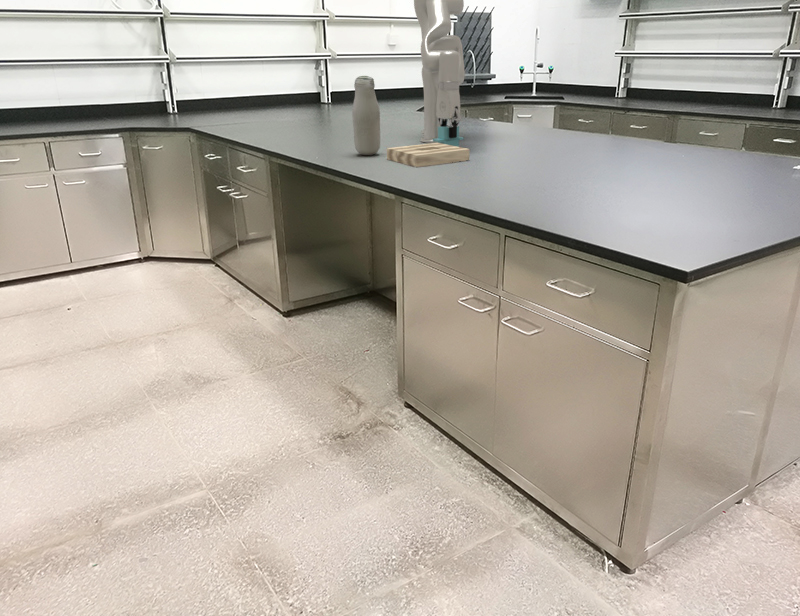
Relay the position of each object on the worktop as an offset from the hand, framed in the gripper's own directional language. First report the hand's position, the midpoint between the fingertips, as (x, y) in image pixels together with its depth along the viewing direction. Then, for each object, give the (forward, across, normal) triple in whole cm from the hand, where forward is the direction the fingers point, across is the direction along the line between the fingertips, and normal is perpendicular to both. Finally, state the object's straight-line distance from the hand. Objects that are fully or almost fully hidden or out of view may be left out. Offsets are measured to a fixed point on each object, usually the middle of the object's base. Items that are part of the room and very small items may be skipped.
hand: (448, 136), depth 240 cm
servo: (+5, 0, 0) cm, 5 cm away
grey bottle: (+5, -10, -30) cm, 32 cm away
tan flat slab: (+5, +13, -18) cm, 23 cm away
